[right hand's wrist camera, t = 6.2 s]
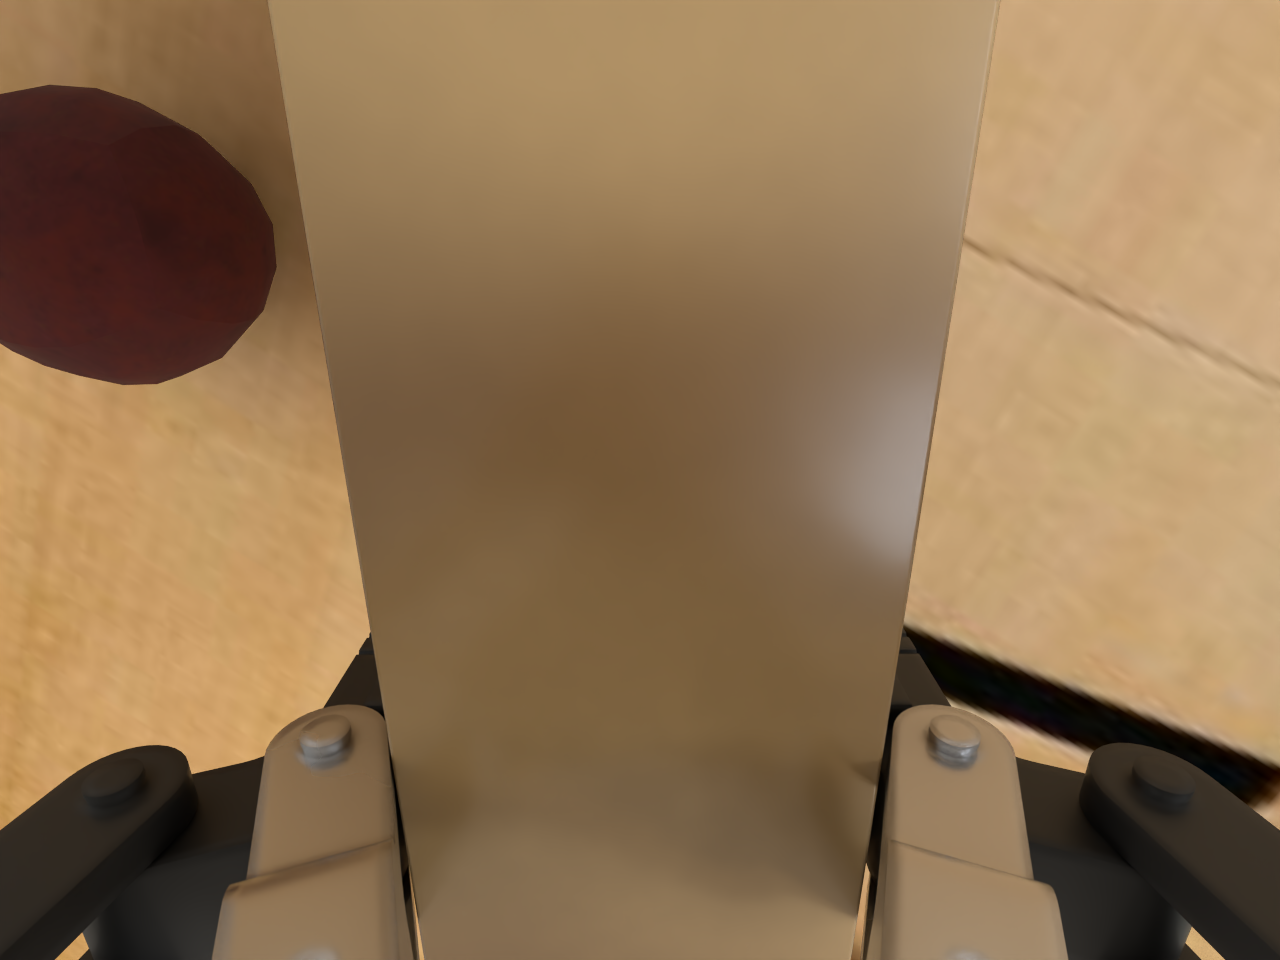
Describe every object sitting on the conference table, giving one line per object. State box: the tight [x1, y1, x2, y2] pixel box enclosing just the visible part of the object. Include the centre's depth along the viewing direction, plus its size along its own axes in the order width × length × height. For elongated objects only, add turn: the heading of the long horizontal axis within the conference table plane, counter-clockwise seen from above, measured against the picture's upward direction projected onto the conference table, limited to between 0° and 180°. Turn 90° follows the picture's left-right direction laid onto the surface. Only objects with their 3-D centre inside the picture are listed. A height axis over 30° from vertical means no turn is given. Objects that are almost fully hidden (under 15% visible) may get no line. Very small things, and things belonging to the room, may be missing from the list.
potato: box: [0, 85, 276, 385], centre depth 19 cm, size 7×8×7 cm
